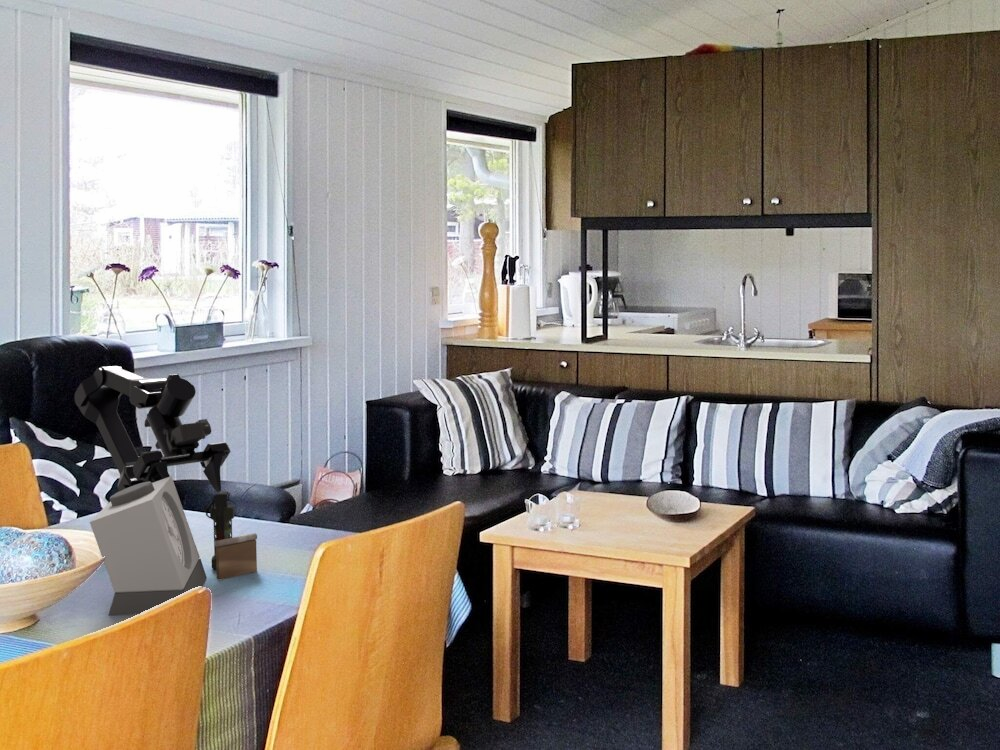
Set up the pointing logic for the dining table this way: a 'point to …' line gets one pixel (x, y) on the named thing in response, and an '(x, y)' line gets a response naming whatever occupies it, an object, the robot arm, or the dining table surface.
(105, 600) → the dining table surface
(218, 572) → the wooden panel
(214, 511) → the grenade
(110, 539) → the alarm clock
